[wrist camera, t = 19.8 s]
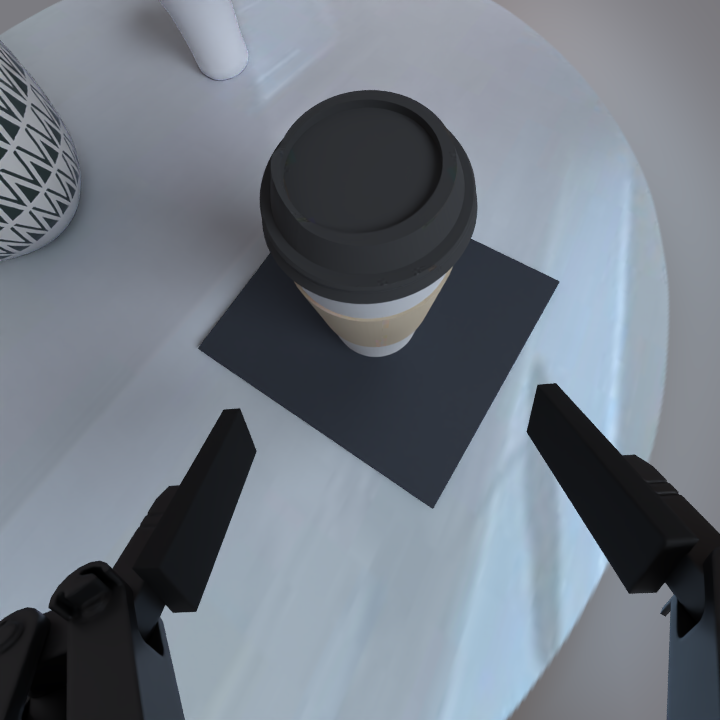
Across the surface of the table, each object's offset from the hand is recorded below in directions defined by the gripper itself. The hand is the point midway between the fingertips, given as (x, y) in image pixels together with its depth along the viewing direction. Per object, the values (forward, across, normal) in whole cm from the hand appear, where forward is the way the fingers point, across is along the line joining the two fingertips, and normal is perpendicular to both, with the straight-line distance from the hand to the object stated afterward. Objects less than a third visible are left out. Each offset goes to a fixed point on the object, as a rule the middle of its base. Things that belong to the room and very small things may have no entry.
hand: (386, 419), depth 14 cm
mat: (+13, 0, -1) cm, 13 cm away
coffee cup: (+13, 0, 0) cm, 13 cm away
